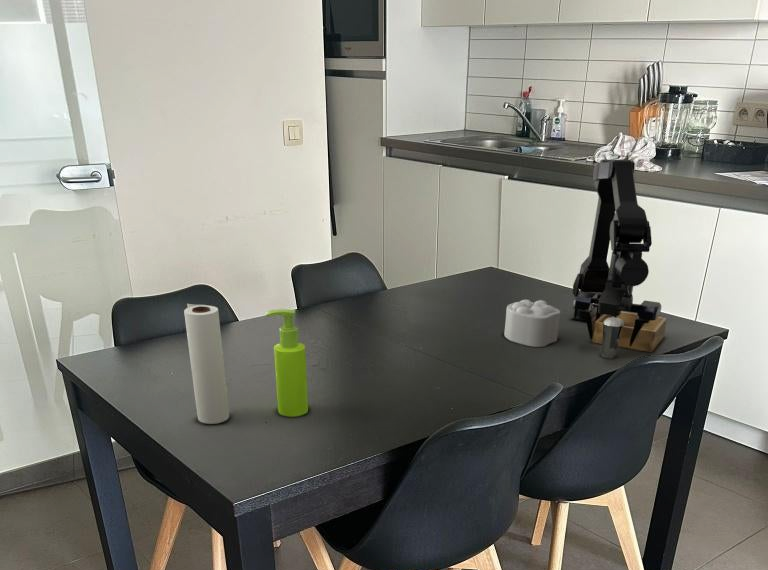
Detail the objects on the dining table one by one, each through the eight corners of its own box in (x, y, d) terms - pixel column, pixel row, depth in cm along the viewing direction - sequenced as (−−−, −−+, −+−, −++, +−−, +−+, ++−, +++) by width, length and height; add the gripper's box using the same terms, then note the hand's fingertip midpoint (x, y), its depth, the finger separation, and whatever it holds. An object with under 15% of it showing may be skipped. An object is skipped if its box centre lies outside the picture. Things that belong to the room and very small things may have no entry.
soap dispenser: (273, 405, 155) (266, 306, 144) (308, 404, 155) (303, 305, 145) (272, 417, 150) (265, 315, 139) (308, 416, 150) (303, 314, 140)
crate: (591, 342, 190) (594, 322, 187) (605, 328, 199) (608, 309, 197) (651, 352, 184) (655, 331, 181) (663, 337, 193) (667, 318, 191)
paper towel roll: (228, 424, 147) (216, 313, 136) (195, 425, 146) (181, 314, 135) (231, 409, 153) (220, 301, 142) (200, 410, 152) (187, 302, 141)
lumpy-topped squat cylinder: (538, 348, 185) (542, 313, 181) (494, 336, 193) (497, 302, 189) (561, 338, 192) (566, 304, 187) (518, 327, 199) (522, 293, 195)
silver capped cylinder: (619, 353, 183) (626, 311, 178) (617, 360, 179) (624, 317, 174) (599, 350, 184) (606, 309, 179) (597, 358, 180) (603, 315, 175)
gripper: (570, 276, 170) (561, 345, 178) (656, 288, 162) (643, 359, 170) (584, 266, 178) (575, 332, 186) (667, 276, 170) (654, 345, 178)
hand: (610, 342), depth 180 cm, fingers open, 9 cm apart
